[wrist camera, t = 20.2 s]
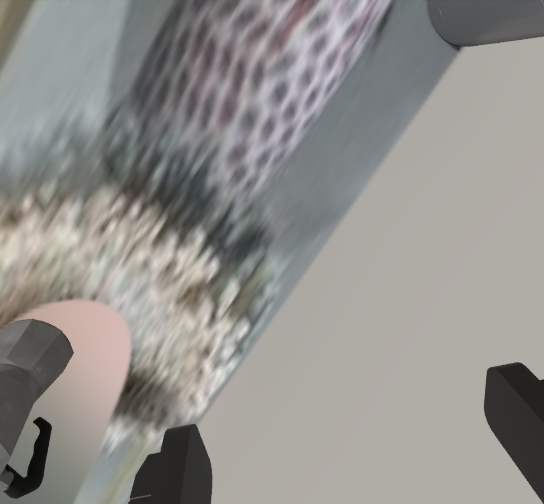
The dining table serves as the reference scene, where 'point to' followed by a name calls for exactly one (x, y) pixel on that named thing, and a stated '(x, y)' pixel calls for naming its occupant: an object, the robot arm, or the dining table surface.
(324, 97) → the dining table surface
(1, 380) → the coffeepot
